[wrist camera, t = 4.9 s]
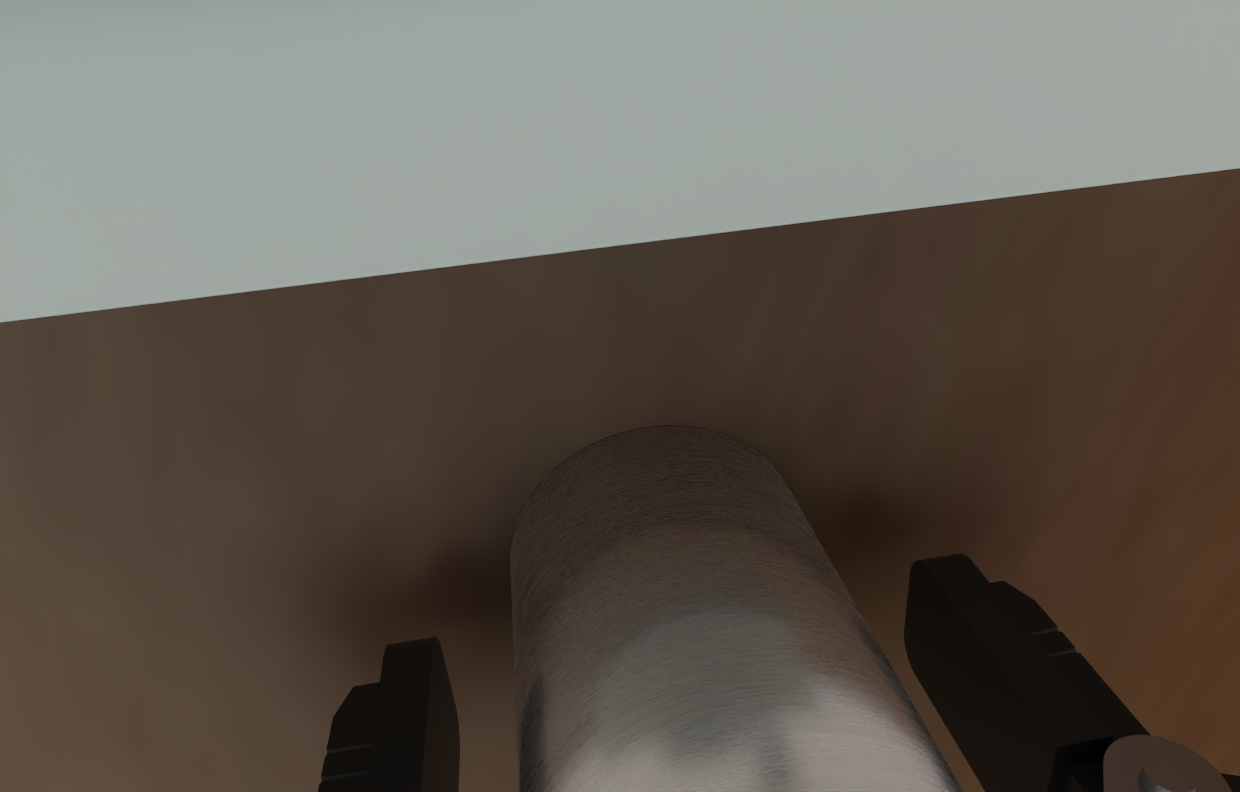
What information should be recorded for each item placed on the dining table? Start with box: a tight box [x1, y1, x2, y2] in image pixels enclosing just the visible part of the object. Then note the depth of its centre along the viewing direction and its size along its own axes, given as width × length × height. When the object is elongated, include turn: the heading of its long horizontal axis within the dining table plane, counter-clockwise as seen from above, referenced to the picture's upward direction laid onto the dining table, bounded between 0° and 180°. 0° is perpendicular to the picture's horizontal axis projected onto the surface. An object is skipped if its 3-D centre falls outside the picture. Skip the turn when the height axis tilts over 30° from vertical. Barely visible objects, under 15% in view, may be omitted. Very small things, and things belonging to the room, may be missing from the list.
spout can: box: [510, 426, 963, 792], centre depth 11 cm, size 5×5×10 cm
